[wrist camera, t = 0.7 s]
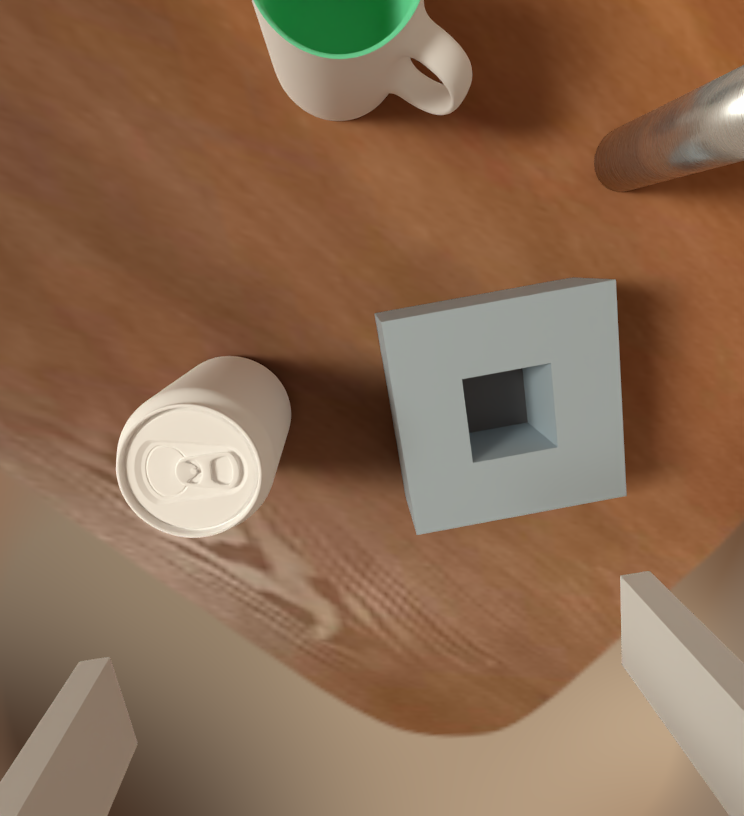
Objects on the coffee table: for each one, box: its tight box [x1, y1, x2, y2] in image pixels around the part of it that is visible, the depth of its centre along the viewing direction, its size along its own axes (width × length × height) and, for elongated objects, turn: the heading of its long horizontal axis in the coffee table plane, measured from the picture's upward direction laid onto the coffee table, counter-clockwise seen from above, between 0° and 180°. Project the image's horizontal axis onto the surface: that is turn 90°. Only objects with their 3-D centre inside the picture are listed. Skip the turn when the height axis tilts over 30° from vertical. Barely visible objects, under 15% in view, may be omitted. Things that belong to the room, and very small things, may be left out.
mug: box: [252, 0, 472, 121], centre depth 28 cm, size 12×8×10 cm
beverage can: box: [116, 356, 291, 538], centre depth 32 cm, size 8×8×12 cm
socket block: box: [375, 278, 627, 535], centre depth 36 cm, size 14×14×6 cm
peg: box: [594, 65, 744, 192], centre depth 28 cm, size 4×4×14 cm
